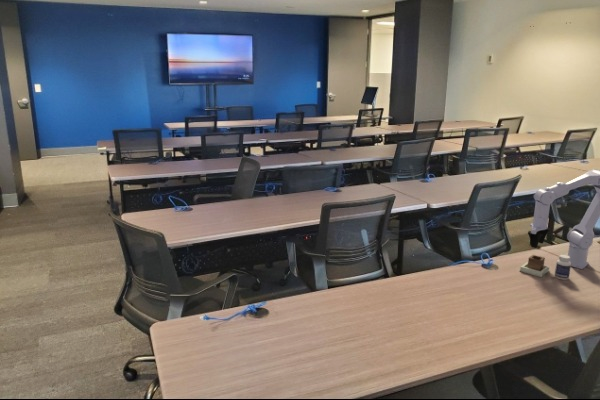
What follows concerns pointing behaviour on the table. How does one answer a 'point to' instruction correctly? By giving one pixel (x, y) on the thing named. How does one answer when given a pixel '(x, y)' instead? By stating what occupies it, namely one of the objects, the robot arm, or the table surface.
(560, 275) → the pill bottle
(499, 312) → the table surface
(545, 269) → the tray
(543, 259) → the walnut block
